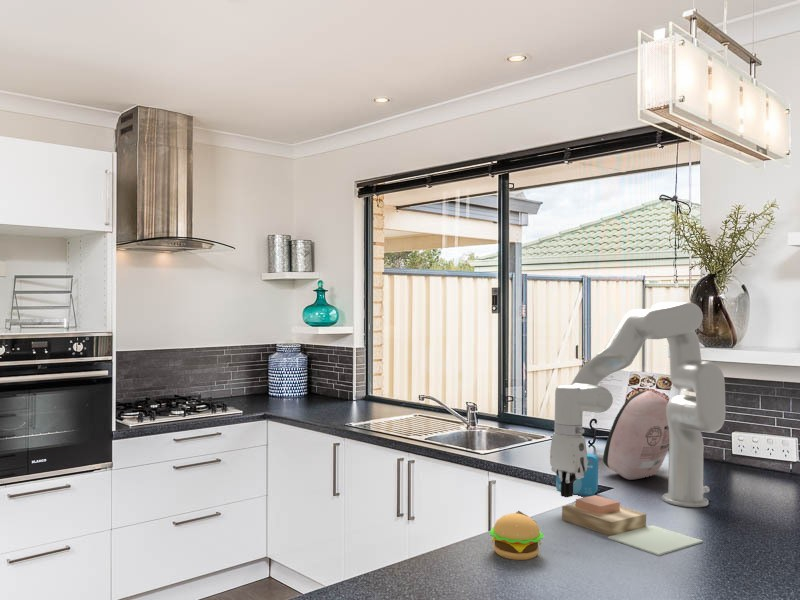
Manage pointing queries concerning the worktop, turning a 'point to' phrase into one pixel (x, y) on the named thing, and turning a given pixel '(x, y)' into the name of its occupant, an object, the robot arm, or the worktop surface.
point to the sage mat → (655, 540)
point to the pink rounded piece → (638, 437)
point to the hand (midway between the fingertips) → (566, 496)
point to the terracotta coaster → (597, 504)
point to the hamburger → (516, 537)
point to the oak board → (605, 519)
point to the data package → (585, 478)
